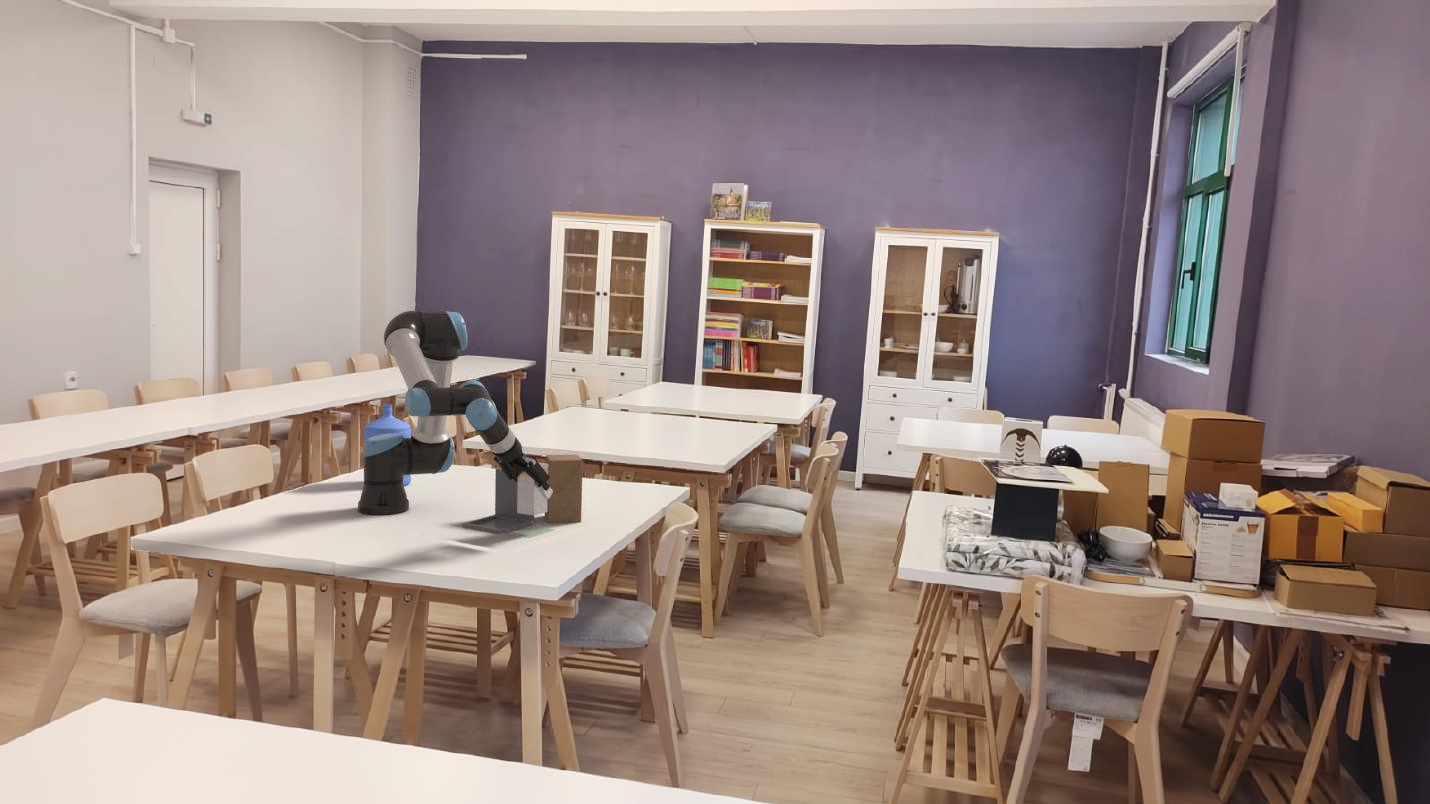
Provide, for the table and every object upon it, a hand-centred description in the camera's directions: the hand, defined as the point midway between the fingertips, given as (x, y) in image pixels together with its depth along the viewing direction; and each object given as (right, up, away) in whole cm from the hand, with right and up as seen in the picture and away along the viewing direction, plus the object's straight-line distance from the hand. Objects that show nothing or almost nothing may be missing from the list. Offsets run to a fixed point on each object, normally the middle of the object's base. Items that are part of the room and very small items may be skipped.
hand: (540, 493), depth 285 cm
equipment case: (-13, -11, +5) cm, 18 cm away
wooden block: (+4, -10, +16) cm, 19 cm away
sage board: (-2, -12, -1) cm, 12 cm away
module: (-2, -5, -3) cm, 6 cm away
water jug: (-65, -3, +63) cm, 90 cm away
